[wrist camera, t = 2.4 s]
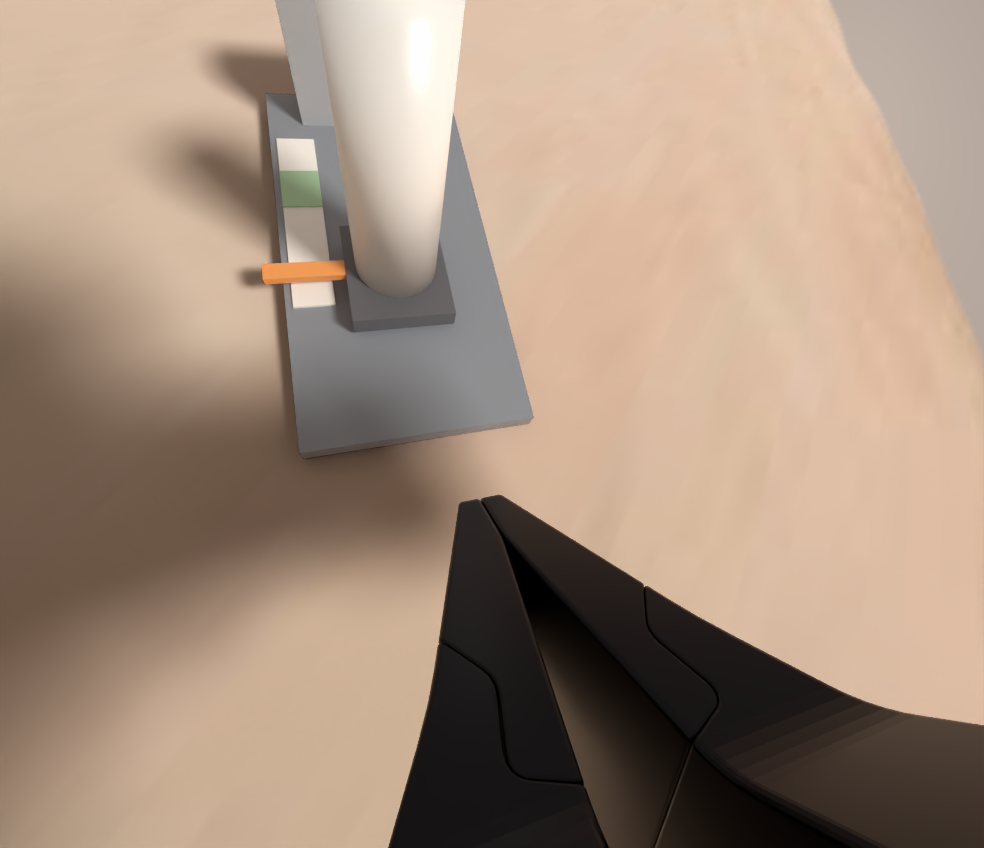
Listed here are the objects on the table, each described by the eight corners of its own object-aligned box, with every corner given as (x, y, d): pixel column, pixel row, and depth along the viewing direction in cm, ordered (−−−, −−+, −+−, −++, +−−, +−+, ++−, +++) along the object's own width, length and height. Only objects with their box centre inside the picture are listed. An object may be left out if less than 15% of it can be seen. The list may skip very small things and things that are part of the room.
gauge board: (528, 423, 18) (581, 360, 13) (303, 458, 16) (254, 400, 11) (448, 117, 23) (462, -20, 18) (270, 110, 21) (224, -49, 16)
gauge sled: (454, 323, 18) (507, 64, 9) (272, 339, 16) (104, 35, 7) (434, 236, 19) (463, -68, 10) (264, 242, 17) (113, -122, 8)
